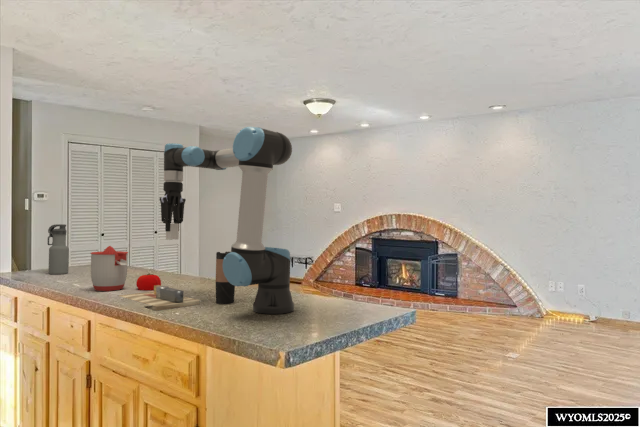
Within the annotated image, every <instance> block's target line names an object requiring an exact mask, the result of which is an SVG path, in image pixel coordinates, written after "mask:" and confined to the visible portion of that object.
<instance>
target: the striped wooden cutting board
mask: <svg viewBox="0 0 640 427" xmlns="http://www.w3.org/2000/svg"><path fill="white" fill-rule="evenodd" d="M117 296H118V297H120V298H125V299H128V300H131V301H135V302H138V303H142V304H146V305H148V306H144V308H146V309H150V310H153V311H156V312H157V311H164V310H171V309H176V308H177V309H178V308H183V307H190V306H197V305H200V304H201V300H200V299H196V298H192V297H187V296H184V299H183V302H180V303H176V302H171V301H167V300H164V299H158V298H156V294H154V290H151V291H146V292H137V293H135V292H134V293H127V294H121V295H120V294H119V295H117Z"/></svg>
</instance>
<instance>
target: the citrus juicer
mask: <svg viewBox="0 0 640 427" xmlns="http://www.w3.org/2000/svg"><path fill="white" fill-rule="evenodd" d="M128 254H129V252H128V251H119V250H117V251H116V249H114V247H113V246H111V245H108V246H107V247H106V248H105V249H104V250H102V251H93V252H92V251H91V252H90V278H91V282H92V286H93V290H95V291H98V292H99V291H100V292H102V291H103V292H107V293H108V292H111V291H119V290H120V289H121V290H122V289H124V287H125V285H126V280H127V276H128V257H129V256H128Z"/></svg>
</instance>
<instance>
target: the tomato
mask: <svg viewBox="0 0 640 427" xmlns="http://www.w3.org/2000/svg"><path fill="white" fill-rule="evenodd" d="M154 285H161V286H162V281H161V277H160V276H159V275H157V274H154V273H150V272H149V273H148V274H142V275H140V276H138V277H137V279H136V284H135V286H136V287H137V289H138V290H139V291H146V292H151V291H154Z"/></svg>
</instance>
